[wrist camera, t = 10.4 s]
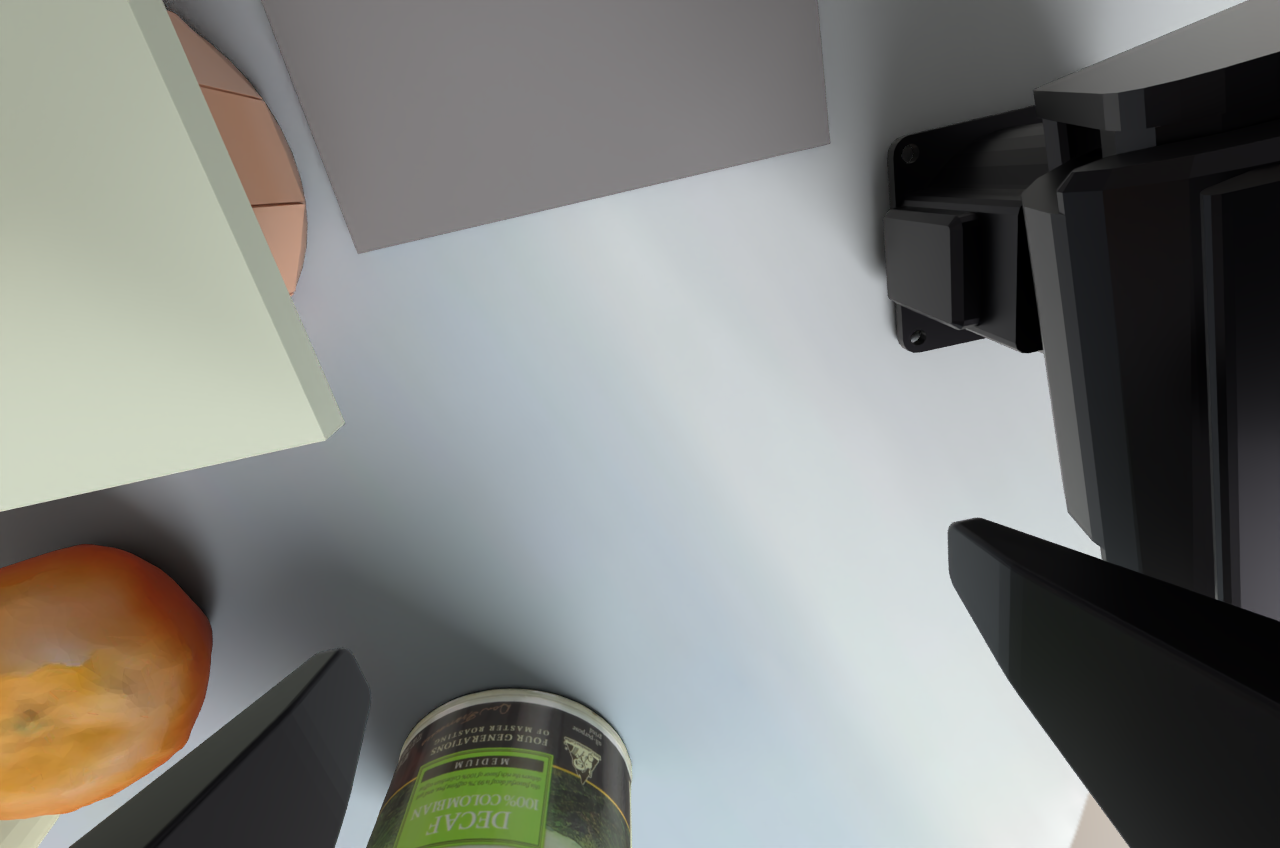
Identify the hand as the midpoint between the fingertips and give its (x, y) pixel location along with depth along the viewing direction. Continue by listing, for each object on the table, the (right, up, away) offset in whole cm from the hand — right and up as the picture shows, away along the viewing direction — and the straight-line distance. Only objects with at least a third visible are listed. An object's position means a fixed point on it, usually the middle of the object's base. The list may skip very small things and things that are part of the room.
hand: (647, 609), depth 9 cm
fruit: (-19, -4, +14) cm, 24 cm away
